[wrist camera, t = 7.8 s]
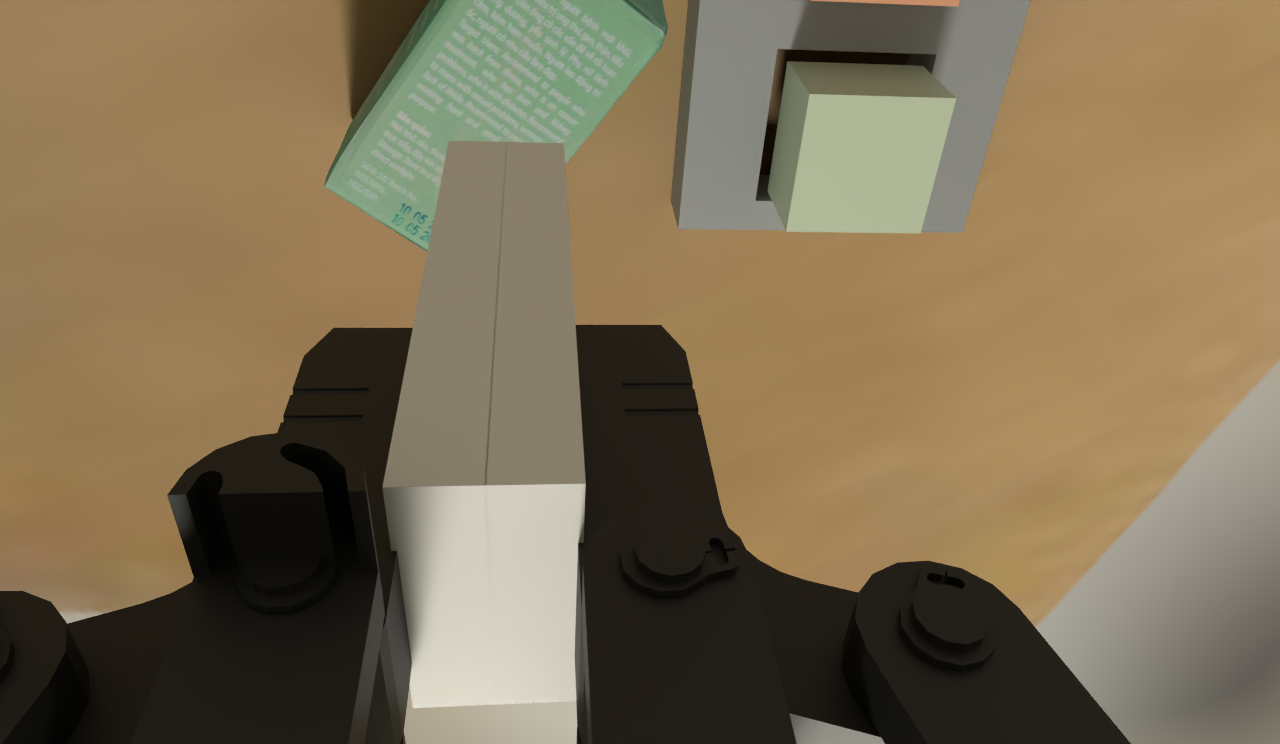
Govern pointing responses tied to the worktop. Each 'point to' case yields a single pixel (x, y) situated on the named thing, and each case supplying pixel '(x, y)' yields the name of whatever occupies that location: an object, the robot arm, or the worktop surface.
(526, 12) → the box
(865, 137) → the sage button
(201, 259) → the worktop surface
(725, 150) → the button board
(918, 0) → the terracotta button
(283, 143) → the worktop surface
